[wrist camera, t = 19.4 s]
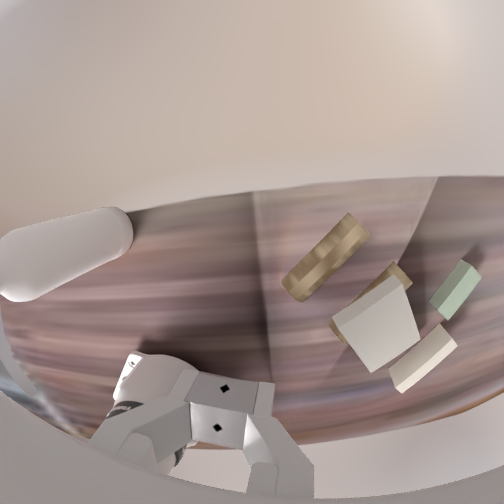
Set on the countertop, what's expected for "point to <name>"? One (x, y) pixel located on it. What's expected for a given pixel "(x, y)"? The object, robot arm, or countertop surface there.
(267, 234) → the countertop surface
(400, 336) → the stone slab
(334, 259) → the rail
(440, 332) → the block
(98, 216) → the bottle
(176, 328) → the countertop surface
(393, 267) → the rail
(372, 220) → the countertop surface
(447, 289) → the block
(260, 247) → the countertop surface
